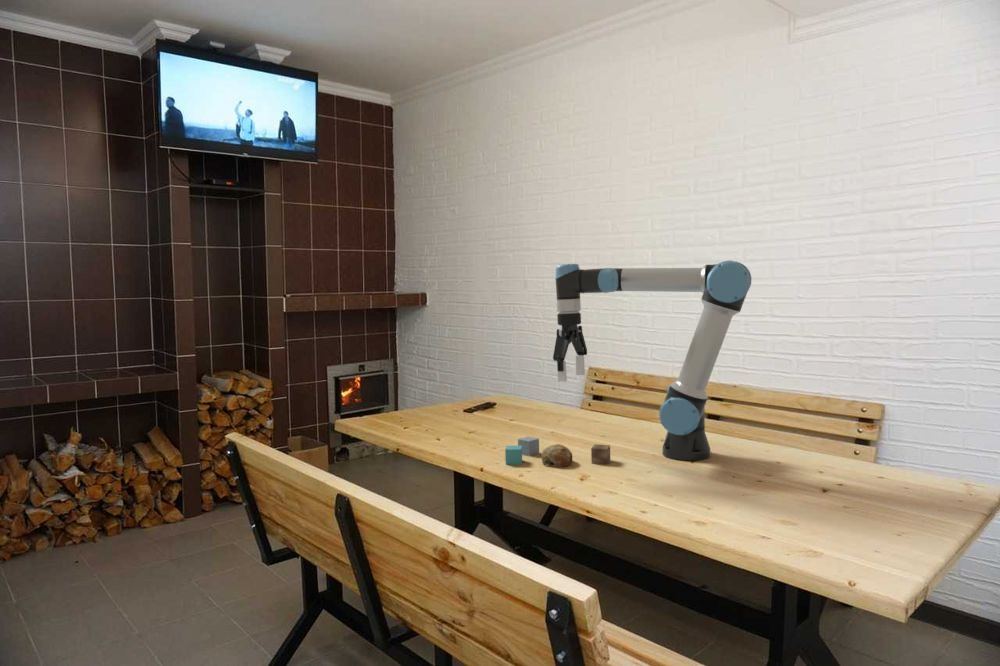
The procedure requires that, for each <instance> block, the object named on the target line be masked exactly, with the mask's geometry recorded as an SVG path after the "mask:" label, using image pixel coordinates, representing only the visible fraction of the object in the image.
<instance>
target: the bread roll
mask: <svg viewBox="0 0 1000 666" xmlns="http://www.w3.org/2000/svg"><path fill="white" fill-rule="evenodd" d="M541 461H542V464H543V465H544V466H545V467H550V468H567V467H569V466H571V465H572V462H573V453H572V451H571V450H570V449H569V448H568V447H567V446H565V445H563V444H561V443H557V444H556V443H555V444H551V445H549V446H547V447H545V448H544V449H543V451H542V453H541Z"/></svg>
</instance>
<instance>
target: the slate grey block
mask: <svg viewBox="0 0 1000 666" xmlns="http://www.w3.org/2000/svg"><path fill="white" fill-rule="evenodd" d="M519 445H522V456H528V457H531V456H533V455H537V454H540V438H537V437H533V436H529V435H528V436H524V437H521V438H518V439H517V446H519Z"/></svg>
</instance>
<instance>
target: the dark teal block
mask: <svg viewBox="0 0 1000 666" xmlns="http://www.w3.org/2000/svg"><path fill="white" fill-rule="evenodd" d="M505 446H506V447H505V449H504V451H505V465H509V466H510V465H512V466H513V465H516V466H519V465H520V466H521V465H522V463H523V454H522V445H519V446H518V445H505Z"/></svg>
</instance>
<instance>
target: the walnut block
mask: <svg viewBox="0 0 1000 666" xmlns="http://www.w3.org/2000/svg"><path fill="white" fill-rule="evenodd" d="M590 449H591V451H590V452H591V453H590V455H591V458H590V459H591V460H590V461H591V464H596V465H608V464H609V463H610V461H611V445H610V444H599V443H598V444H594V445H592V447H591V448H590Z"/></svg>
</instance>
